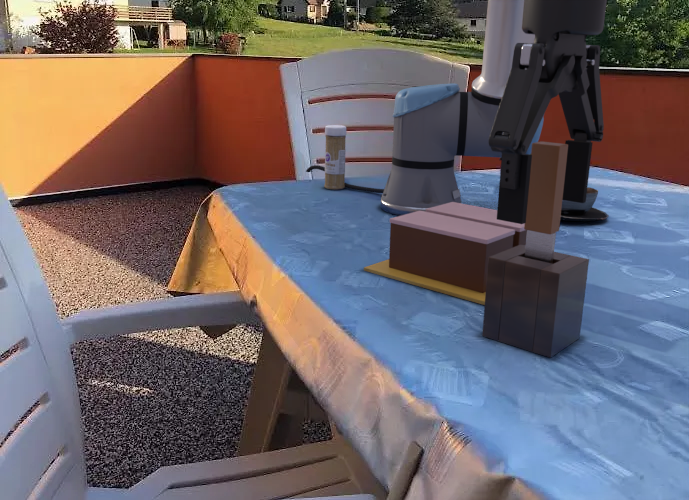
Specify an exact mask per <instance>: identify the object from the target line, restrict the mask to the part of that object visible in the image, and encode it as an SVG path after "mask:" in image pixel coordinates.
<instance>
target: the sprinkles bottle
mask: <svg viewBox="0 0 689 500" xmlns="http://www.w3.org/2000/svg"><path fill="white" fill-rule="evenodd" d="M324 134H325V155H324V167H325V171H324V185H323V186H324V188H325V189H327V190H333V191H338V190H343V189H346V188H345V185H344V183H346V182H345V180H346V179H345V176H346V138H347V126H346V125H341V124H329V125H325V126H324Z"/></svg>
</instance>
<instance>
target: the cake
mask: <svg viewBox="0 0 689 500" xmlns="http://www.w3.org/2000/svg"><path fill="white" fill-rule="evenodd" d="M389 223H390V228H389V229H390V231H389V232H390V233H389V252H388V253H389V254H388V255H389V256H388V259H385V260H382V261H379V262H376V263H373V264H370V265H367V266H364V267H363V271H364V272H367V273H371V274H375V275H378V276H381V277H383V278H388V279H391V280H396V281H399V282H402V283H406V284H410V285H413V286H416V287H420V288H424V289H427V290H430V291H434V292H437V293H441V294H444V295H448V296H451V297H455V298H458V299H462V300H465V301H469V302H472V303H476V304H479V305H483V306H485V295H486V283H487V270H488V258H489V257H490V256H493V255H495V254H498V253H500V252H503V251H505V250H508V249H511V248H513V247H516V246H518V245H526V236H527V230H525V229H524V225H525V223H524V224H518V223H513V222H508V221H503V220H497V209H492V208H488V207H482V206H477V205H471V204H466V203H462V202H461V203H456V202H450V203H446V204H443V205H439V206H435V207H431V208H428V209H426V212H425V211H416V212H413V213H409V214H405V215H398V216H395V217H390V218H389Z"/></svg>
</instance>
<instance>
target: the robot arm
mask: <svg viewBox="0 0 689 500" xmlns="http://www.w3.org/2000/svg"><path fill="white" fill-rule="evenodd" d="M607 1H608V0H487V10H486V11H487V12H486V20H485V31H484V43H483V51H482V52H483V55H482V62H481V63H482V66H481V73H480V75H478V76H477V77H476V78H474V80H473V81H472V82H471V91H460V90H461V88H460V86H459V84H458V83H437V84H428V85H420V86H413V87H407V88H402V89H401V90H400V91H398V92H397V93H396V95H395V98H394V106H393V107H394V108H393V113H392V118H393V130H392V131H393V132H392V133H393V134H392V150H391V151H392V152H391V153H392V154H391V155H392V156H391V169H390V171H389V175H388V178H387V180H386V183H385V185H384V188H376V187H367V186H361V185H355V184H349V183H347V182H344V185H345V188H344V189H349V190H353V191H359V192H367V193H374V194H381V197H380V209H382V210H383V211H384V212H386V213H389V214H392V215H398V216H401V215H405V214H409V213H413V212H416V211H425V212H426V209H428V208H431V207H435V206H439V205H443V204H446V203H450V202H456V203H461V204H462V198H461V196H462V195H461V191H460V188H459V187H458V183H457V179H456V174H455V170H454V169H455V157H456V156H457V157H478V158H479V157H480V158H499V159H500V158H502V160H500V169H501V171H499V186H498V195H497V208H496V210H497V220H503V221H508V222H513V223H518V224H524V223H526V215H527V204H528V193H529V182H530V172H531V161H532V155H530V154H531V150H532V143H535V142H539V140H540V138H541V133H542V130H543V126H544V120H545V118H544V116H545V113H546V111H547V109H548V108H549V105H550V102H551V100H552V99H554V98H556V97H559V101H560V104H561V108H562V112H563V116H564V119H565V123H566V127H567V130H568V133H569V134H568V135H569V137H570V139H566V140H564V144H568V152H567V162H566V171H565V180H564V189H563V199H562V200H566V201H572V202H578V203H585V202H586V195H587V187H588V185H589V177H590V168H591V159H592V152H593V143H594V142H597V143H601V142H602V141H603V138H604V128H605V123H604V112H603V110H604V109H603V99H602V87H601V73H600V59H601V47H600V45H599V44H597V45H595V44H594V45H593V44H587V40H586V39H587V36H598V35H600V34H602V32H603V30H604V26H605V18H606V9H607ZM313 170H319V171H322V172H325V166H322V165H319V164H318V165H311V166H308V168H306V170H305V172H307V173H310V172H311V171H313Z"/></svg>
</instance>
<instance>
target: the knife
mask: <svg viewBox="0 0 689 500" xmlns="http://www.w3.org/2000/svg"><path fill="white" fill-rule="evenodd" d="M567 152H568V144H565V143H560V142H550V141H538V142H535V143H532V150H531V155H532V161H531V172H530V182H529V193H528V204H527V215H526V223H525V225H524V229H525V230H527V236H526V246H525V258H529V259H534V260H538V261H543V262H547V263H551V264H553V257H554V252H555V247H556V237H557V233H558V232H559V231H560V226H561V224H560V223H561V220H560V217H561V208H562V199H563V189H564V180H565V171H566V162H567Z"/></svg>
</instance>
